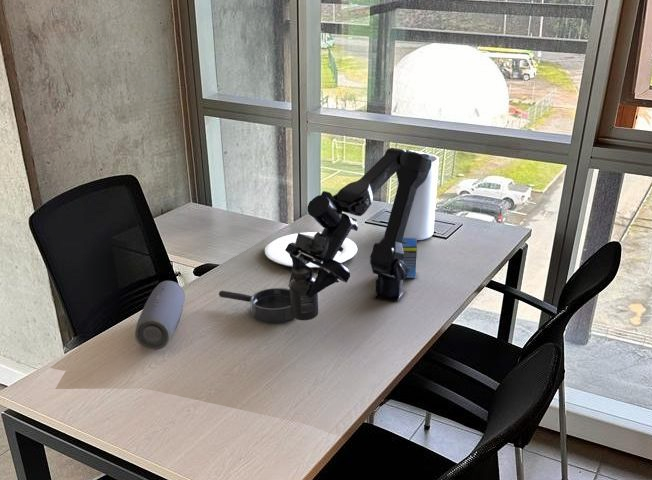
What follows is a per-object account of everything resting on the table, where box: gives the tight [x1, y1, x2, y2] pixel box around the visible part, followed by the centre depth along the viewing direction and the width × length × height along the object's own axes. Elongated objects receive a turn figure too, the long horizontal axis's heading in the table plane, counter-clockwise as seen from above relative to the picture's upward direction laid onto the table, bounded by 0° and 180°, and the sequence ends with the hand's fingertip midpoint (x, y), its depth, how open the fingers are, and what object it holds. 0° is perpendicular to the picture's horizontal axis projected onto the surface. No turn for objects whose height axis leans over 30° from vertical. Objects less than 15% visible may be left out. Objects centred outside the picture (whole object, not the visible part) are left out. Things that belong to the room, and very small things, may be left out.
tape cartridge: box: [402, 238, 418, 279], centre depth 207 cm, size 9×4×12 cm, turn 84°
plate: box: [264, 231, 358, 269], centre depth 226 cm, size 29×29×2 cm
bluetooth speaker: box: [134, 280, 186, 351], centre depth 182 cm, size 23×9×10 cm, turn 178°
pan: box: [249, 287, 295, 324], centre depth 191 cm, size 13×13×4 cm
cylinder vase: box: [396, 153, 440, 241], centre depth 232 cm, size 12×12×25 cm
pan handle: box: [218, 290, 254, 303], centre depth 195 cm, size 11×2×2 cm, turn 67°
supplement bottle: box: [288, 266, 319, 321], centre depth 174 cm, size 7×7×12 cm
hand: (299, 292), depth 173 cm, fingers closed on supplement bottle, 7 cm apart
